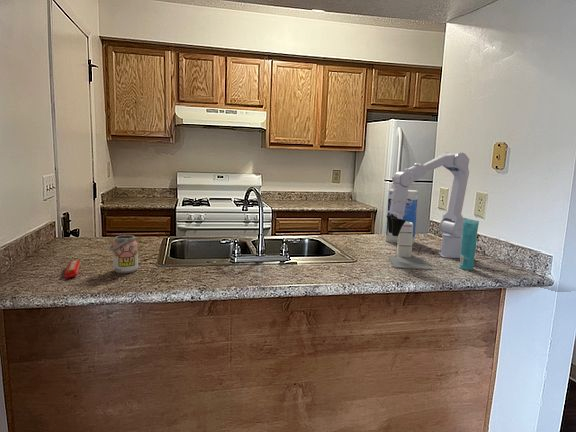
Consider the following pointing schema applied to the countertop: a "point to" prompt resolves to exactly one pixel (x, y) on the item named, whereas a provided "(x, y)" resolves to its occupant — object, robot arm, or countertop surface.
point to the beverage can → (125, 254)
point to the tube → (468, 243)
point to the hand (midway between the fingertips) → (393, 234)
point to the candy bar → (72, 269)
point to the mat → (409, 263)
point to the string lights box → (409, 213)
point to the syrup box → (405, 240)
